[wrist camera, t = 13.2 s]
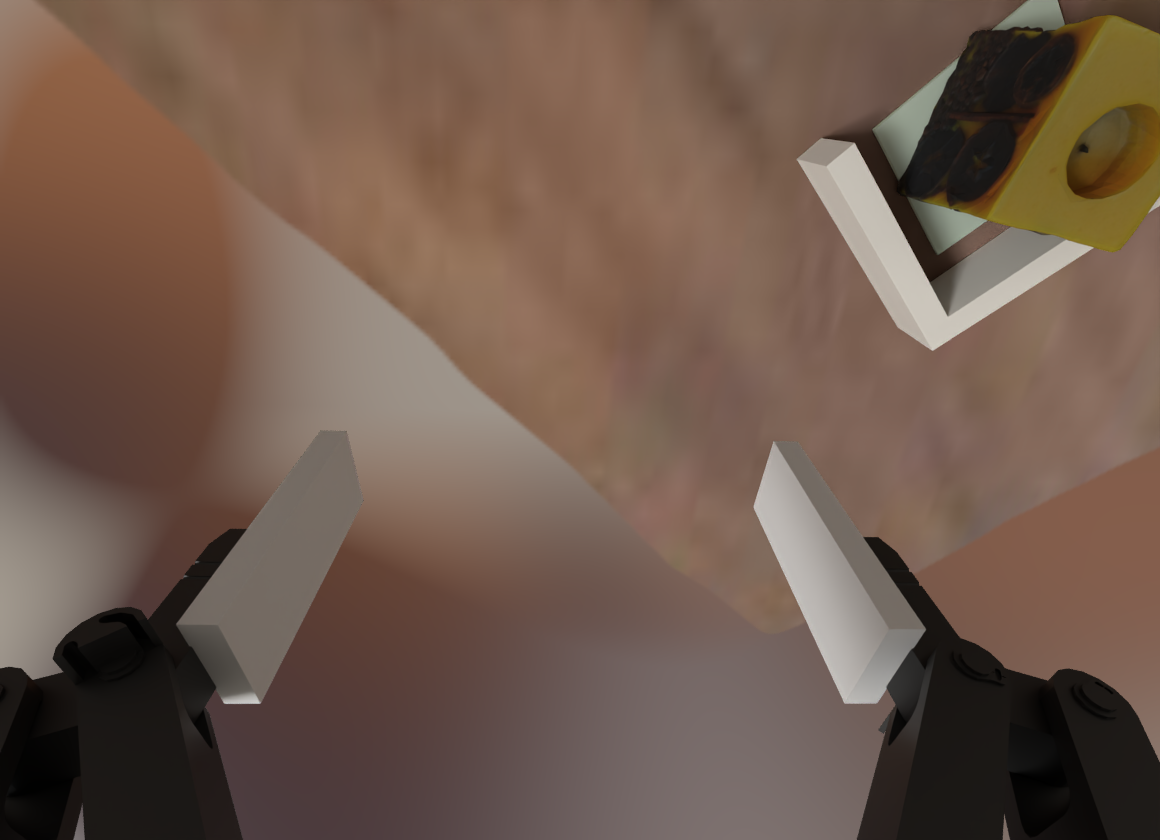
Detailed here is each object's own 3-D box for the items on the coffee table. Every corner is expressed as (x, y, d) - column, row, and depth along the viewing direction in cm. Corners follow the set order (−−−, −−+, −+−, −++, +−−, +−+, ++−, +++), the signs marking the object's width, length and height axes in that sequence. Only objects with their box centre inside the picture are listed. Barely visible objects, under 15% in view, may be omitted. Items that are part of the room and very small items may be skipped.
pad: (872, 129, 36) (874, 129, 36) (1048, -17, 32) (1052, -19, 32) (935, 254, 41) (938, 255, 41) (1096, 141, 37) (1099, 141, 37)
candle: (969, 29, 33) (1108, 4, 25) (1099, 68, 34) (1273, 57, 26) (888, 194, 38) (979, 220, 30) (1002, 222, 40) (1121, 255, 31)
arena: (796, 159, 37) (826, 166, 33) (1091, -94, 30) (1177, -126, 26) (897, 327, 44) (932, 350, 40) (1153, 155, 38) (1227, 161, 33)
